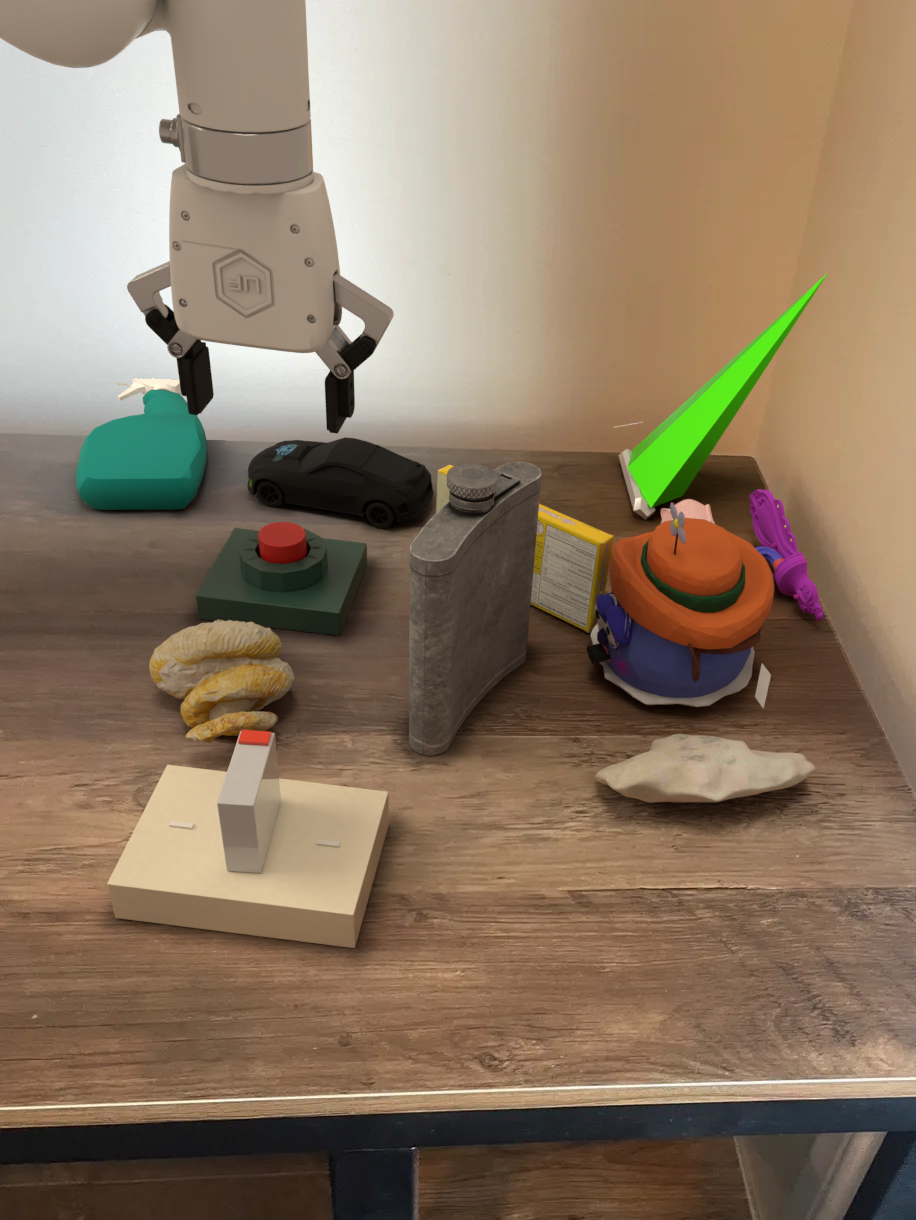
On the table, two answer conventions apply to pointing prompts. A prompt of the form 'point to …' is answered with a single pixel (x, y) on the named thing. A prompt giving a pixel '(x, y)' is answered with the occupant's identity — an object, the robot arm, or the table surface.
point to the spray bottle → (145, 453)
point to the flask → (469, 596)
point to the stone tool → (703, 770)
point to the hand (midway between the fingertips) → (269, 415)
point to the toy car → (342, 479)
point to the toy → (683, 614)
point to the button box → (284, 585)
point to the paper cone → (701, 421)
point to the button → (282, 543)
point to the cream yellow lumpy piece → (222, 676)
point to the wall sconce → (769, 545)
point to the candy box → (562, 563)
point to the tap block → (292, 873)
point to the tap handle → (249, 801)
